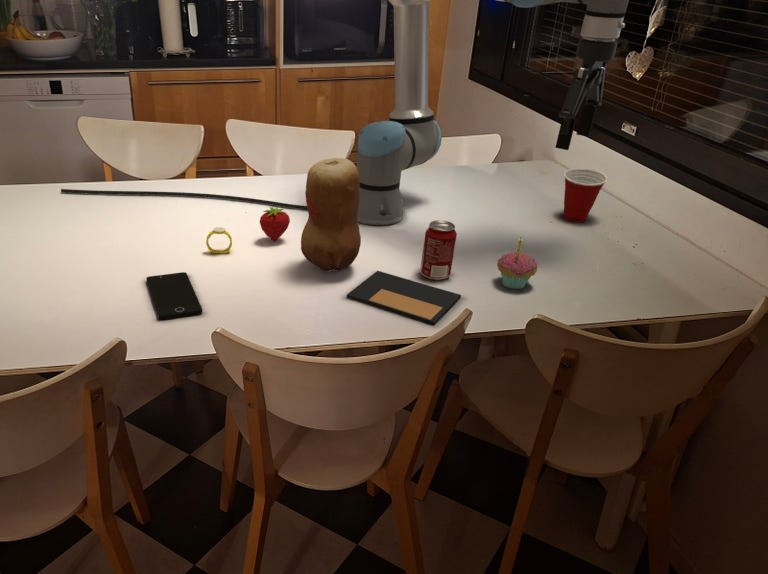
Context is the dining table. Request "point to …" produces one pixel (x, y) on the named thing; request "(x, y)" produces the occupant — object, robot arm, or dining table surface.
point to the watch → (219, 231)
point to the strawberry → (274, 223)
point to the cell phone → (173, 295)
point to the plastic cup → (581, 192)
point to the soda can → (438, 250)
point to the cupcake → (516, 268)
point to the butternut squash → (332, 215)
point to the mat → (404, 297)
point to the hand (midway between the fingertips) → (572, 142)
